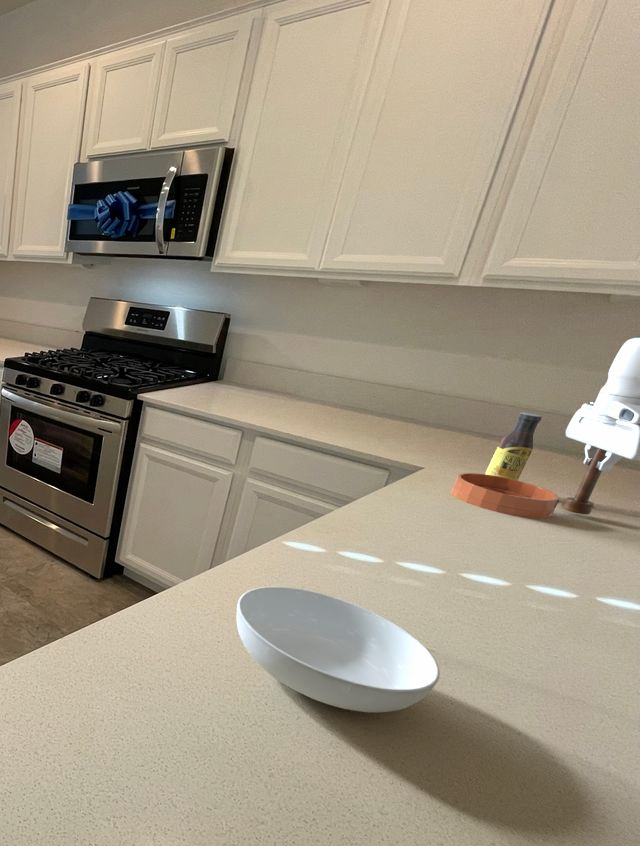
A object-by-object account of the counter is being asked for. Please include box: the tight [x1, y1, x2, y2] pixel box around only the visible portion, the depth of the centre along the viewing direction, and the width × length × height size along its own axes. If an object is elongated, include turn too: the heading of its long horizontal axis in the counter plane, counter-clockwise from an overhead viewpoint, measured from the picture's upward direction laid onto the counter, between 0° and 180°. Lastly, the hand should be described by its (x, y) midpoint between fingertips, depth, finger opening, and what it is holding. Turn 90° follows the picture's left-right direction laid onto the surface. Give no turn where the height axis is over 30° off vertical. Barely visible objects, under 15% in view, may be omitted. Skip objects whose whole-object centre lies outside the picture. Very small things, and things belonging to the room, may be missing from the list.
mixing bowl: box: [449, 472, 561, 520], centre depth 135 cm, size 17×17×6 cm
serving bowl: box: [235, 586, 440, 713], centre depth 73 cm, size 21×21×7 cm
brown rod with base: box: [562, 448, 607, 515], centre depth 133 cm, size 4×4×17 cm
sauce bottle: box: [484, 412, 543, 481], centre depth 148 cm, size 7×6×20 cm
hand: (596, 467), depth 132 cm, fingers closed on brown rod with base, 2 cm apart
